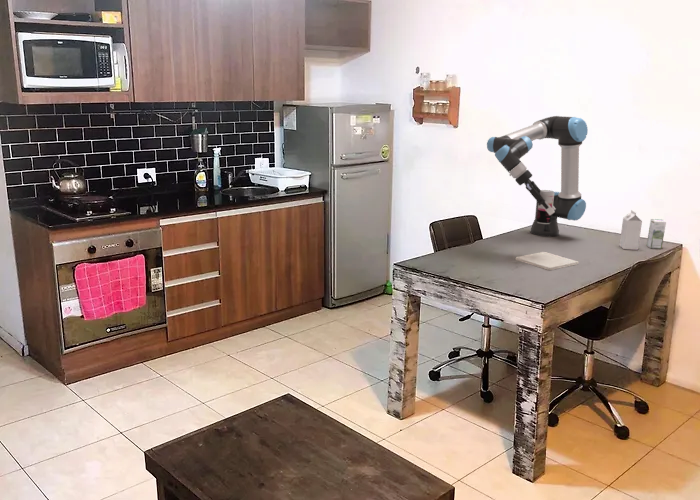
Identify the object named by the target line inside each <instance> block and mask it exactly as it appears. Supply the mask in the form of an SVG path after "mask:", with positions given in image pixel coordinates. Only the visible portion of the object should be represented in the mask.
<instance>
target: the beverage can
mask: <svg viewBox="0 0 700 500" xmlns="http://www.w3.org/2000/svg"><path fill="white" fill-rule="evenodd" d="M554 192H555V191H553V190H548V189H540V195H541V196H542V198H543V199H544V200H545V201H546V202H547V203H548V204H549V205H550V206H551V208H552V209H553V201H554ZM538 204H539V203H538ZM551 217H552V214H551V215H549V214H548V213H547V211H546V210H545V209H544V208H543V207H542V205H540V206H539V205H538V212H537V220H536V221H537V223H540V224H550V223H551Z"/></svg>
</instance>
